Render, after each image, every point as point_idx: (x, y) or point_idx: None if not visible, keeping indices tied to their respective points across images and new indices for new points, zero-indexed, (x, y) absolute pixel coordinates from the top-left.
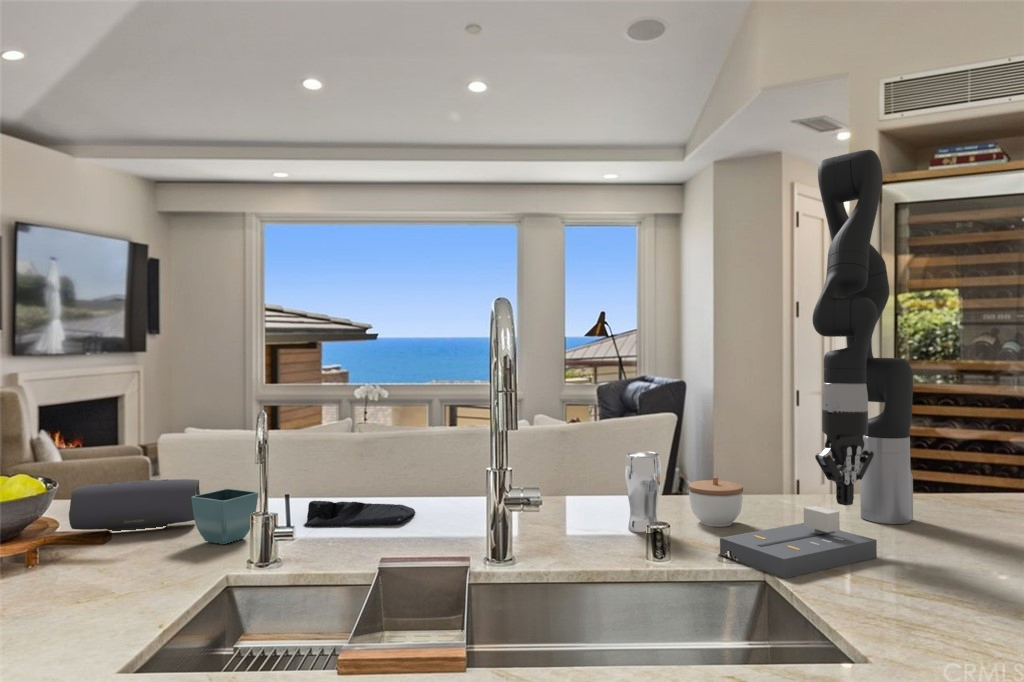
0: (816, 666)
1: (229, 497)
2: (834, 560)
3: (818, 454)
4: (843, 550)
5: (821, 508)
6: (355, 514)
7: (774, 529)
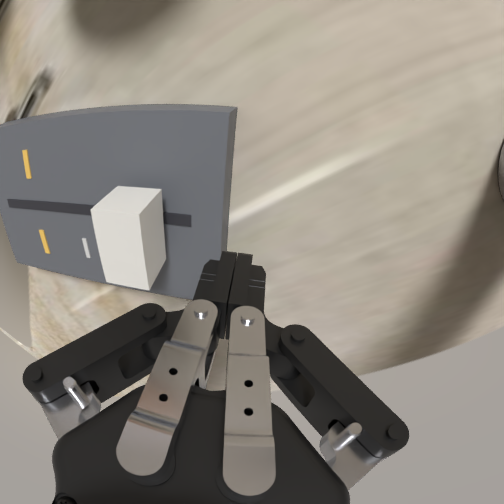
0: (7, 333)
1: None
2: None
3: (29, 391)
4: None
5: (131, 244)
6: None
7: (83, 123)
